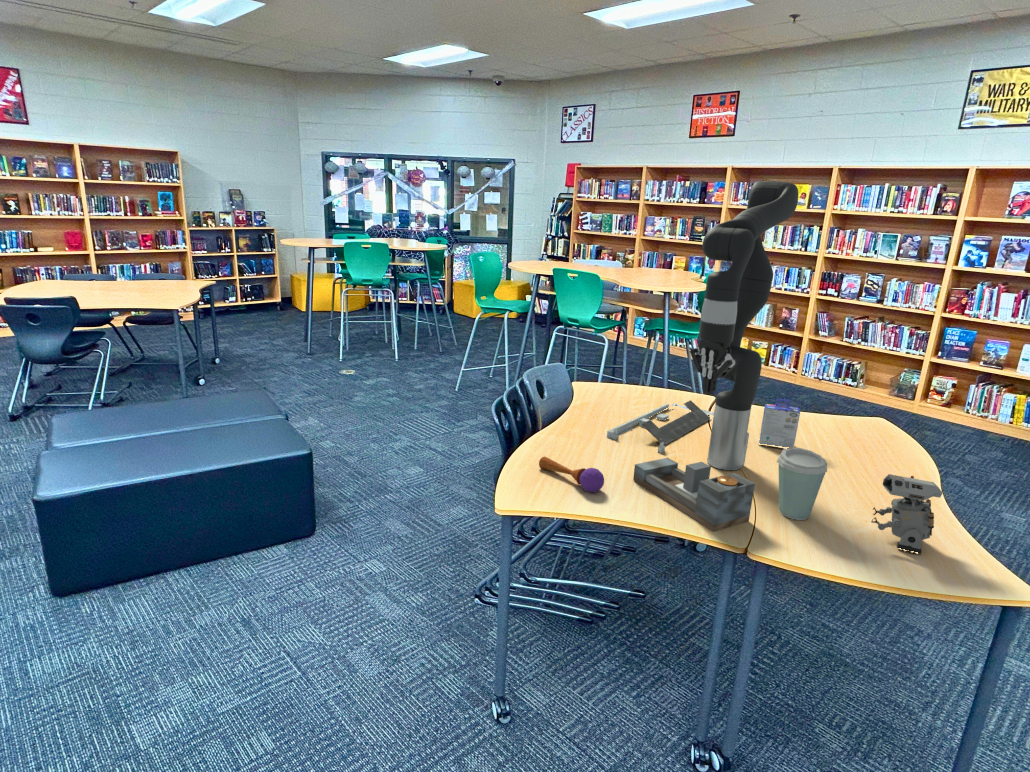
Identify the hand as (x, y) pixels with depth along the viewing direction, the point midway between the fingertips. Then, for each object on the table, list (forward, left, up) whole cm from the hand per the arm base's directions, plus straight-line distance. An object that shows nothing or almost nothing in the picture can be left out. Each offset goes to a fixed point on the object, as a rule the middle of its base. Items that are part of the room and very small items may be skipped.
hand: (708, 393), depth 143 cm
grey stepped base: (+2, 0, -27) cm, 27 cm away
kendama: (+23, -21, -27) cm, 41 cm away
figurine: (-27, +34, -27) cm, 51 cm away
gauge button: (+2, +11, -20) cm, 23 cm away
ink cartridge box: (-49, -16, -27) cm, 58 cm away
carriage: (+2, +2, -25) cm, 25 cm away
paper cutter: (-29, -42, -28) cm, 58 cm away
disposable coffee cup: (-16, +16, -27) cm, 35 cm away
